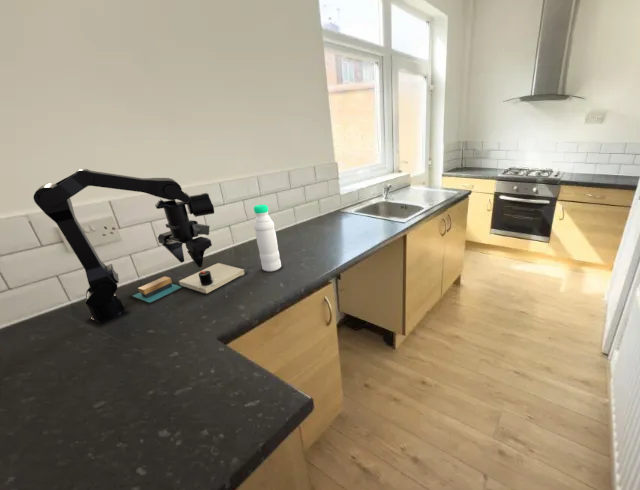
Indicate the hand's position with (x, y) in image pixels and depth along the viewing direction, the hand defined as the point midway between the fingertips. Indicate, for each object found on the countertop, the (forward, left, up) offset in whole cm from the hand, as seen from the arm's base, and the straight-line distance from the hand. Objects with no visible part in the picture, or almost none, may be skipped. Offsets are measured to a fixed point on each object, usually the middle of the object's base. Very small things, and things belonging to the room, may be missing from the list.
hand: (191, 264), depth 106 cm
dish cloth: (-7, +11, -10) cm, 16 cm away
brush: (-7, +11, -9) cm, 16 cm away
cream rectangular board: (+7, +1, -10) cm, 12 cm away
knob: (+2, -3, -8) cm, 8 cm away
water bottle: (+23, -12, -10) cm, 27 cm away
